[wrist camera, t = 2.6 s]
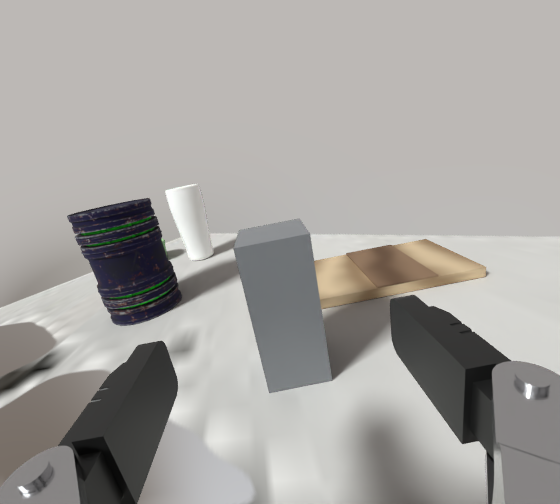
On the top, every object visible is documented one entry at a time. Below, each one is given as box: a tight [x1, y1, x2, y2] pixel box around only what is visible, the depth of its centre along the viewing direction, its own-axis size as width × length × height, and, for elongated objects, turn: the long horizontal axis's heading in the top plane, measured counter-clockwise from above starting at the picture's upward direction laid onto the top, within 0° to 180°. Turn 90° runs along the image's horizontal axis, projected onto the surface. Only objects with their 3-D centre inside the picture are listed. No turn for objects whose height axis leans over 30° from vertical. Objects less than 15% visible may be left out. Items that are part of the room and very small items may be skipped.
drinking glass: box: [165, 184, 214, 261], centre depth 58 cm, size 7×7×15 cm
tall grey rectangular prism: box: [233, 219, 332, 393], centre depth 22 cm, size 5×5×12 cm
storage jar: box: [67, 198, 182, 326], centre depth 39 cm, size 10×10×15 cm
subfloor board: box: [314, 239, 486, 309], centre depth 37 cm, size 25×12×1 cm, turn 94°
